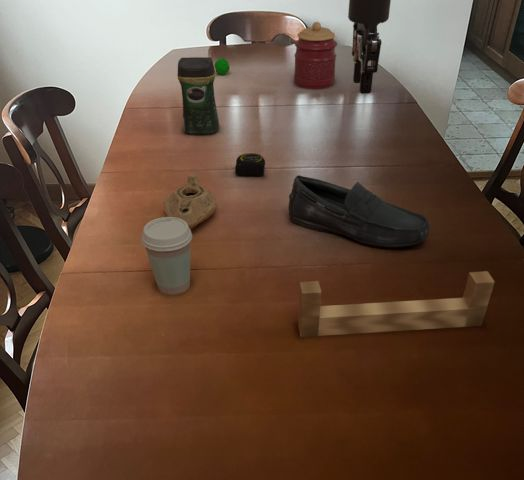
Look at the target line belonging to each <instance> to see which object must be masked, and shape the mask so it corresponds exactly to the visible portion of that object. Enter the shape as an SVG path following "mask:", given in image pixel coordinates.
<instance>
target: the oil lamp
mask: <svg viewBox="0 0 524 480" xmlns="http://www.w3.org/2000/svg"><path fill="white" fill-rule="evenodd" d="M163 209H164V213H165V215H166V217H176V218H180V219H182V220H184V221H185V222H186V223H187V225H188V227H189V228H190V230H192V229H194V228H195V227H196V226H197V225H199V224H202V223H203V222H205V221H206V220H207V219H208V218H210V217H211V216H212V215H213V214H214V212H215V211H216V209H217V198H216V196H215V194H213V193H212V192H211V191H210V190H208V189H207V188H205V186H202V184H201V182H200V179H199V177H198V175H197V174H196V173H190V174H188V175H187V183H186V184H183V185H180V186H179V187H177V188H176V189H175V190H174V191H172V192H171V194H169V195H168V196H167V197H166V198H165V200H164V202H163Z"/></svg>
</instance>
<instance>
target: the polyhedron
mask: <svg viewBox="0 0 524 480" xmlns="http://www.w3.org/2000/svg"><path fill="white" fill-rule="evenodd" d="M213 65H214V69H215V73H217V74H218V75H220V76H225V75H227V74H228V73H229V72H230V63H229V61H228V60H227V59H225V58H223V57H222V58H221V57H220V58H219V59H217V60H216V61H215V62H214V64H213Z"/></svg>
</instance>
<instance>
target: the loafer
mask: <svg viewBox="0 0 524 480" xmlns="http://www.w3.org/2000/svg"><path fill="white" fill-rule="evenodd" d="M293 179H294V180H293V183H292V189H291V192H290V193H289V195H288V215H289V218H290V220H291V222H293V224H294V225H297V226H298V227H302V228H304V229H308V230H311V231H317V232H318V233H319V232H320V233H333V234H338V235H343V236H346V237H347V238H349V239H352V240H355V241H356V242H357V243H359V244H361V245H364V246H367V245H368V246H369V247H371V248H373V247H374V248H378V249H379V248H381V249H383V248H386V249H396V248H398V249H399V248H404V247H412V246H416V245H419V244H421V243H422V242H424V241H425V240H426V239H427V238H428V236H429V234H430V223H429V220H428V218H427V217H425V216H424V215H422V214H419V213H416V212H413V211H410V210H409V209H405V208H403V207H400V206H397V205H395V204H391V203H389V202H386V201H384V200H383V199H381V198H380V197H379V196H378V195H376V194H374V193H373V192H371V191H370V190H368V189H367V188H365V187H364V186H363V184H361V183H360V182H359V181H357V182H355V183H354V184H353V185H352V187H351V188H348V187H347V188H346V187H345V186H344V187H343V186H341V185H337V184H334V183H332V182H328V181H325V180H323V179H322V180H321V179H318V178H314V177H309V176H303V175H298V174H297V175H296V176H295V177H294V178H293Z"/></svg>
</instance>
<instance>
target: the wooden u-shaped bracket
mask: <svg viewBox="0 0 524 480" xmlns="http://www.w3.org/2000/svg"><path fill="white" fill-rule="evenodd" d="M467 276H468V277H467V280H466V284H465V287H464V291H463V295H462V297H453V298H452V297H451V298H438V299H437V298H436V299H435V298H433V299H419V300H418V299H417V300H402V301H399V300H398V301H384V302H368V303H366V302H365V303H350V304H335V305H332V304H331V305H321V304H322V288H321V286H320V281H319V280H310V281H300V282H299V286H298V287H299V288H298V290H299V291H298V320H297V327H298V332H299V337H301V338H305V337H320V336H336V335H337V336H339V335H352V334H353V335H354V334H355V335H356V334H370V333H371V334H372V333H386V332H388V333H389V332H402V331H419V330H420V331H421V330H436V329H437V330H438V329H449V328H450V329H451V328H467V327H481V326H482V325H483V322H484V319H485V316H486V313H487V309H488V306H489V302H490V299H491V296H492V292H493V289H494V285H495V280H494V278H493V277H492V276H491V274H490V272H489V271H488V270H487V271H486V270H484V271H469V272H468V275H467Z"/></svg>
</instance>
